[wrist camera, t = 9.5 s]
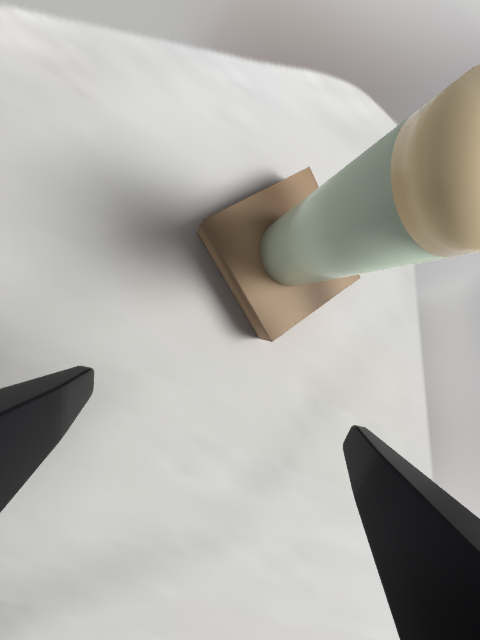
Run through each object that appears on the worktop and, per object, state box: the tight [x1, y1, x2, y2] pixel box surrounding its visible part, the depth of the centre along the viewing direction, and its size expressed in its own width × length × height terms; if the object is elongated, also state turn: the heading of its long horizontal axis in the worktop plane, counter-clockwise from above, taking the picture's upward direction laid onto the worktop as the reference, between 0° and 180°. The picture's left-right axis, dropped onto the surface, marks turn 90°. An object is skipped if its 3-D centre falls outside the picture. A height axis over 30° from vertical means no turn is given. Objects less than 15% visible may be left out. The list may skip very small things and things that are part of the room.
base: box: [197, 167, 360, 341], centre depth 20 cm, size 10×10×2 cm
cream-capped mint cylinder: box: [260, 65, 480, 287], centre depth 13 cm, size 5×5×12 cm
